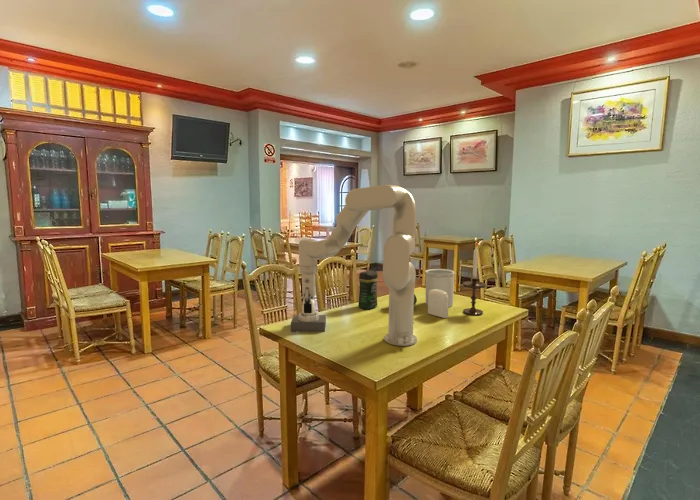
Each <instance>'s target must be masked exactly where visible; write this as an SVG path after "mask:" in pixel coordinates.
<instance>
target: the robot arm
mask: <svg viewBox="0 0 700 500" xmlns="http://www.w3.org/2000/svg"><path fill="white" fill-rule="evenodd" d="M344 203H345V205H344V206H343V207H342V209H341V211H340V212H339V213H338V214H337V216H336V218H335V219H336V227H335V228H334V230H333V231H332V232H331V234H330V235H329V236H328V237H327V238H326V239H322V240H315V239H308V238H307V239H301V240H299V242H298V267H299V268H298V269H299V270H298V271H299V272H298V273H299V274H301V284H302V285H301V290H302V292H301V293H302V297H303V300H304V313H312V303H311V299H314V298H315V296H316V293H317V288H316V287H317V285H316V283H317V282H316V274H317V273H318V260H325V259H328V258H331V257H333V256H336V255H337V254H338V253H339V252H340V251H341V250H342V249H343V247H344V246H345V245H346V244H347V243H348V241H349V240H350V238H351V236H352V234H353V233H354V230H355V229H356V228H357V226H358V225H359V224H360V223H361V221H362V220H363V219H364V217H366V215H367V214H368V212H369V211H376V210H385V209H393V217H392V233H391V235H389V237H387V239H386V240H385V243H384V246H383V255H382V256H383V258H382V278H383V282H384V284H385V286H387V288H388V289H389V292H388V333H386V334H385V335H384V337H383V338H384V341H385V342H386V343H387V344H389V345H391V346H399V347H406V346H407V347H408V346H412V345H415V344H416V343H418V342H417V341H418V338H417V336H416V335H415V334H414V314H415V312H414V310H415V309H414V307H415V305H414V294H415V287H416V278H417V277H416V275H417V274H416V273H417V272H416V268H415V266H414V264H413V263H412V262H410V257H411V255H412V254H413V253H414V251H415V248H416V231H417V230H416V229H417V228H416V225H417V222H416V221H417V206H416V201H415V199H414V196H413V195H412V194H411V193H410V192H409V191H408V190H407V189H405V188H403V187H402V186H399V185H395V184H379V185H374V186H373V185H372V186H367V187H358V188H353V189H351V190H349V192H347V194H346V196H345V200H344Z"/></svg>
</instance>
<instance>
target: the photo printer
mask: <svg viewBox="0 0 700 500" xmlns="http://www.w3.org/2000/svg"><path fill="white" fill-rule="evenodd" d="M448 301H449V296H448V294H447V293H446V292H444V291H442V290H438V289H433V290H430V291H429V293H428V305H427V314H429V315H432V316H436V317H439V318H443V319H447V318H448V316H449V307H448Z"/></svg>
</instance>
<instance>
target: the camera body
mask: <svg viewBox="0 0 700 500" xmlns="http://www.w3.org/2000/svg"><path fill="white" fill-rule="evenodd" d="M326 325H327V315H326V314H320V313H319V312H318V311H315V316H303V311H300V312H299V313H298V314H294V315H293V317H292V319H291V320H290V332H291V333H294V332H295V333H297V332H296V331H308V332H307V333H317V332H319V333H323V332H326Z"/></svg>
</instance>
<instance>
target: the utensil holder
mask: <svg viewBox="0 0 700 500" xmlns="http://www.w3.org/2000/svg"><path fill="white" fill-rule="evenodd" d="M424 274H425V304H426V306H428V293H429V291H430V290H433V289H438V290H442V291H444V292H446V293H447V294H448V296H449V301H448V308H450V307H453V304H454V294H455V293H454V292H455V291H454V288H455V287H454V286H455V283H454V282H455V271H454V270H452V269H446V268H434V269H433V268H432V269H430V268H429V269H426V270H425V271H424Z"/></svg>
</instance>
